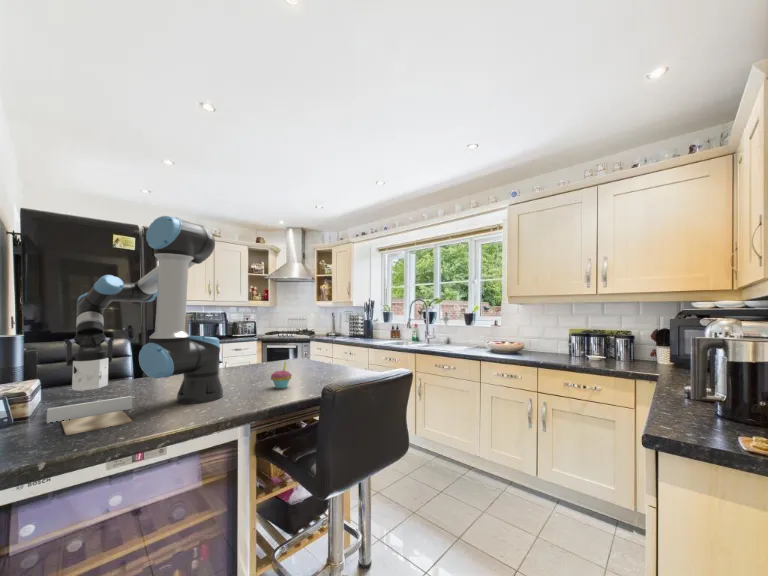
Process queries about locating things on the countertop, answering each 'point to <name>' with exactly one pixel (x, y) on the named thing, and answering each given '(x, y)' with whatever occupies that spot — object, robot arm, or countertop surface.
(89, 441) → the countertop surface
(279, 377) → the cupcake
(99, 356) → the jar
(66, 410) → the acrylic wall
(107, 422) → the oak board
